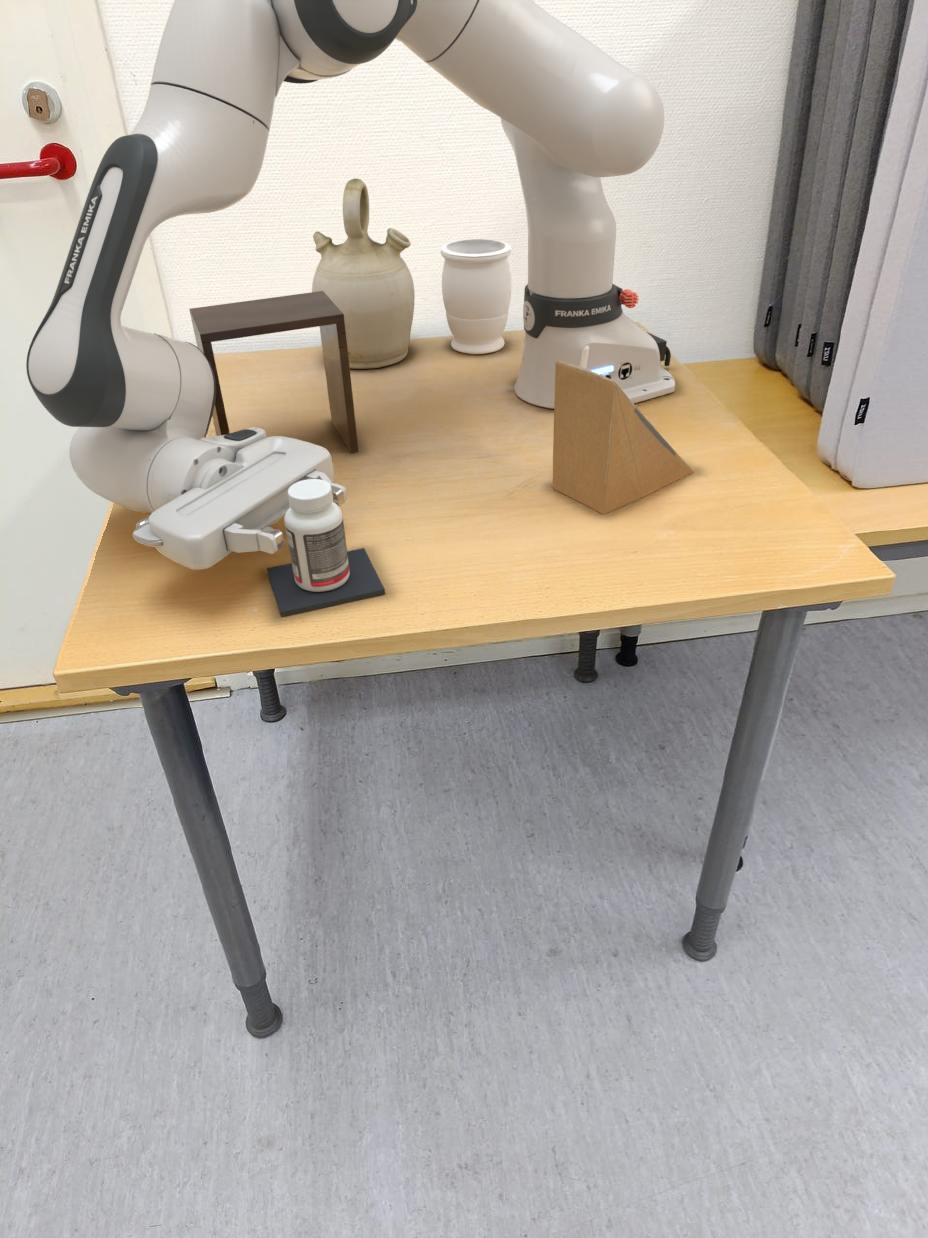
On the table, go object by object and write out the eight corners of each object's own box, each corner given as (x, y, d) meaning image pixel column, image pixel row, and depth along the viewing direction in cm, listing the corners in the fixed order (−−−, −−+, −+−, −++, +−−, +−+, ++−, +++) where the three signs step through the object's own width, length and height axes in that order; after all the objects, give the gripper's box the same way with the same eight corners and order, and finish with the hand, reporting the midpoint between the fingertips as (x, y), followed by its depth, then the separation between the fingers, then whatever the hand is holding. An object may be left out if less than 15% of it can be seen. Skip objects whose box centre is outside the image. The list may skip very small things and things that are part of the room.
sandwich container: (697, 472, 101) (716, 344, 92) (605, 515, 93) (615, 381, 84) (641, 448, 106) (654, 325, 97) (550, 487, 99) (555, 358, 90)
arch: (217, 442, 111) (189, 308, 101) (339, 421, 115) (323, 290, 105) (229, 476, 103) (199, 334, 93) (358, 451, 108) (343, 313, 97)
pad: (364, 552, 89) (364, 547, 88) (385, 594, 83) (384, 589, 82) (267, 572, 86) (266, 567, 86) (281, 617, 80) (280, 611, 80)
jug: (434, 345, 138) (426, 171, 123) (389, 379, 127) (373, 192, 112) (351, 334, 143) (334, 166, 128) (300, 366, 132) (275, 186, 117)
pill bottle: (359, 567, 85) (348, 478, 79) (336, 598, 81) (323, 506, 75) (309, 559, 87) (296, 471, 81) (284, 588, 83) (268, 498, 77)
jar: (520, 339, 139) (521, 240, 130) (495, 361, 131) (494, 257, 122) (461, 332, 143) (458, 235, 134) (433, 352, 135) (428, 251, 126)
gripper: (112, 504, 77) (227, 542, 71) (264, 420, 91) (371, 446, 85) (130, 563, 81) (241, 604, 75) (274, 474, 95) (377, 502, 89)
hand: (311, 519), depth 80 cm, fingers open, 8 cm apart
